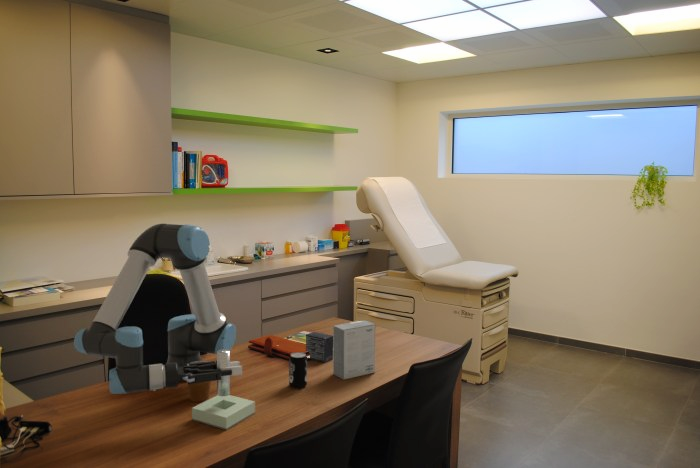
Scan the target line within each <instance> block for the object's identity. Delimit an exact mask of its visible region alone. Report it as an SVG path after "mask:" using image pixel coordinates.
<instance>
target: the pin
mask: <svg viewBox="0 0 700 468" xmlns="http://www.w3.org/2000/svg"><path fill="white" fill-rule="evenodd" d="M230 351H231V350H227V349H222V350H218V351H217V354H216V360H217V369H221V368H224V367H230V362H231V355H230V353H231V352H230ZM217 395H218V396H227V395H231V376H225V377H221V380H216V396H217Z"/></svg>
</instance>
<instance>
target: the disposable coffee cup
mask: <svg viewBox="0 0 700 468" xmlns="http://www.w3.org/2000/svg"><path fill="white" fill-rule="evenodd" d="M199 362H209V361H206V360H202V361H195V362H191V363H199ZM211 382H212V381H208V382H200V383H194V384H190V385H188V384H187V386H188V392H189V398H190V401H191V402H194V403H195V402H196V403H200V402H201V403H203V402H205V401H207V400H209V399H210V392H211V384H212V383H211Z"/></svg>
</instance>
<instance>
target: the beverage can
mask: <svg viewBox="0 0 700 468" xmlns="http://www.w3.org/2000/svg"><path fill="white" fill-rule="evenodd" d="M289 356H290V357H289V360H288V362H289V363H288V372H289V373H288V378H289V379H288V382H289V383H288V385H289V386H290V387H291V388H292V389H296V390H297V389H304V388H305V387H306V386H307V385H308V359H307V357H306V352H302V351H297V352H296V351H295V352H292V353H290V355H289Z"/></svg>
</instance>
